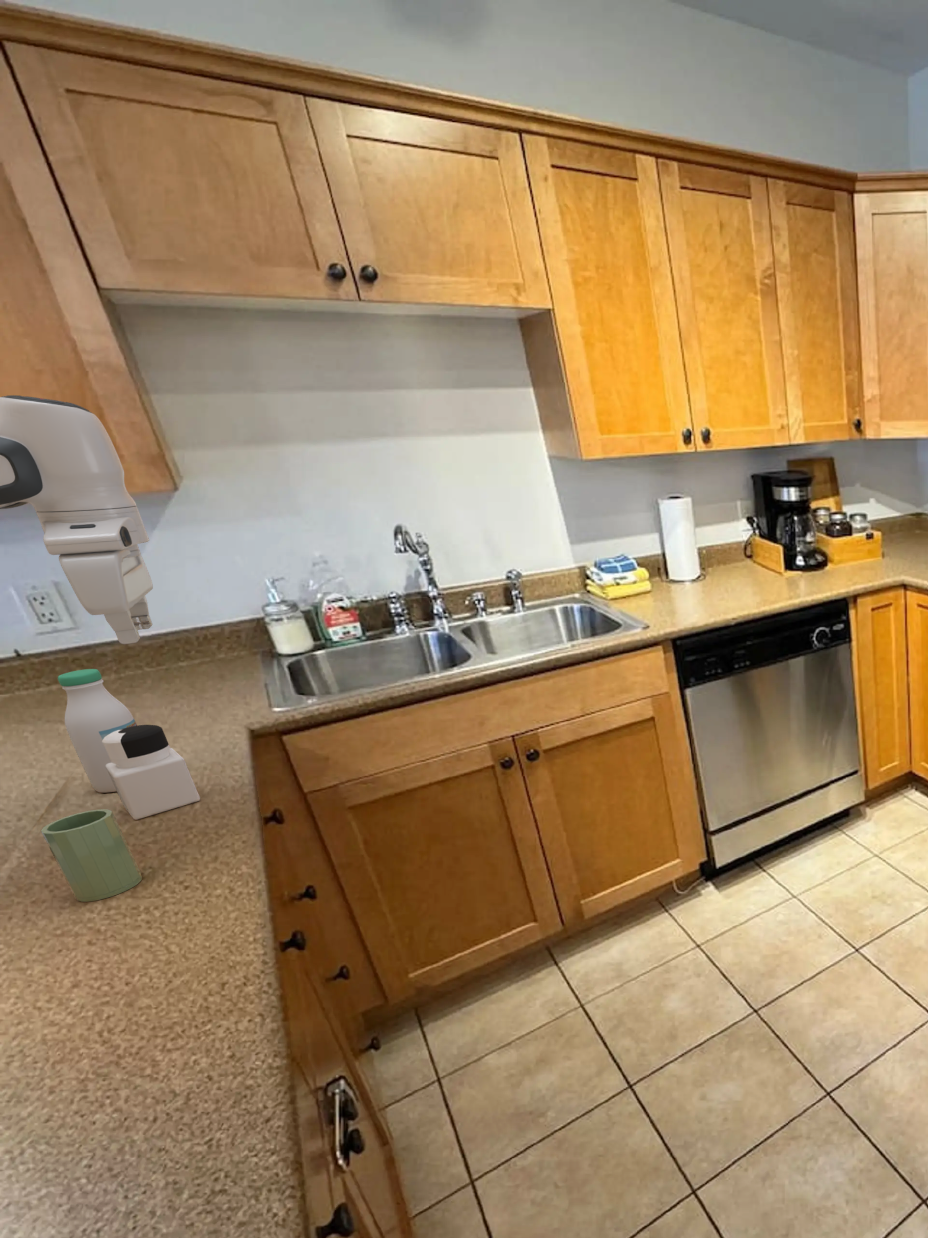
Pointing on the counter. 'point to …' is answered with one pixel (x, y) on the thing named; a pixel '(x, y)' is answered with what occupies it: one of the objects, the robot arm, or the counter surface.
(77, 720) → the milk bottle
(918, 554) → the counter surface
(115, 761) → the container
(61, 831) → the cup
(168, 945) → the counter surface
